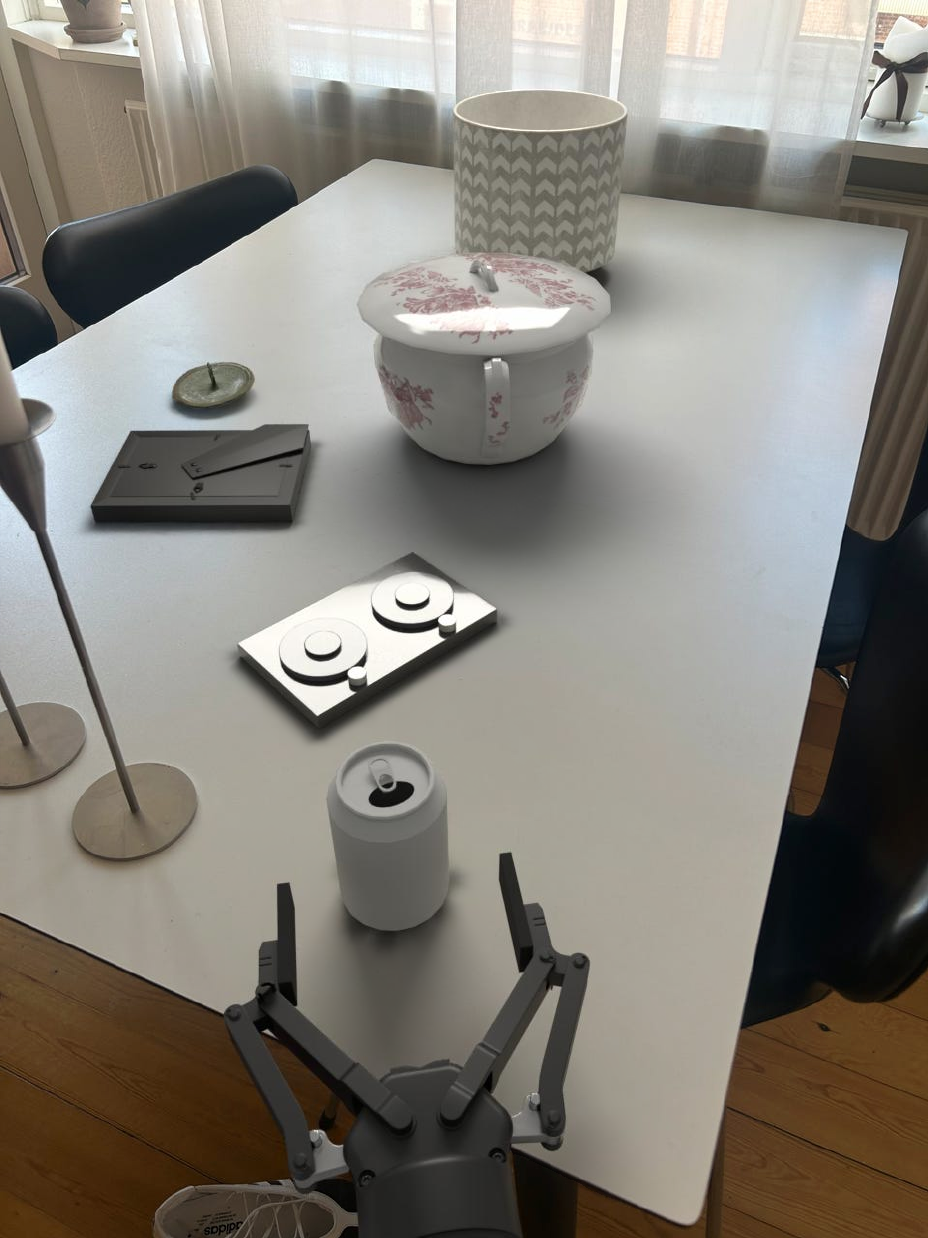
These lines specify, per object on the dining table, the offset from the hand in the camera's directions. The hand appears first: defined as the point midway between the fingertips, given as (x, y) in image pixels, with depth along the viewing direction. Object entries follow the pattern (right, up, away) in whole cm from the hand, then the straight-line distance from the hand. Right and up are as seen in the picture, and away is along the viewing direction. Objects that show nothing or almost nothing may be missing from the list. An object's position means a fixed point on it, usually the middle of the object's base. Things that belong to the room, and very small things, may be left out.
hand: (396, 880), depth 60 cm
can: (-1, -3, +7) cm, 8 cm away
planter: (+15, +71, +95) cm, 119 cm away
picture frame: (-24, +31, +48) cm, 62 cm away
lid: (-27, +44, +63) cm, 82 cm away
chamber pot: (+6, +38, +55) cm, 67 cm away
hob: (-4, +14, +27) cm, 31 cm away
